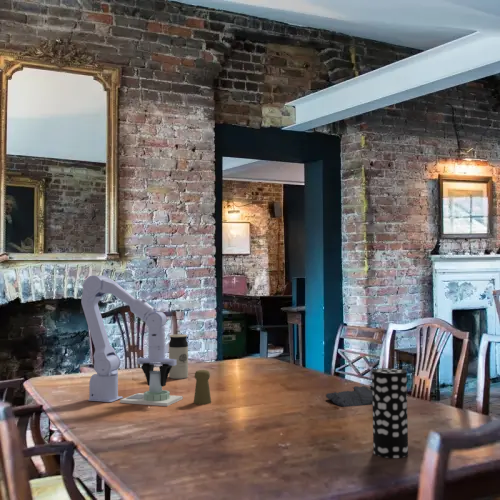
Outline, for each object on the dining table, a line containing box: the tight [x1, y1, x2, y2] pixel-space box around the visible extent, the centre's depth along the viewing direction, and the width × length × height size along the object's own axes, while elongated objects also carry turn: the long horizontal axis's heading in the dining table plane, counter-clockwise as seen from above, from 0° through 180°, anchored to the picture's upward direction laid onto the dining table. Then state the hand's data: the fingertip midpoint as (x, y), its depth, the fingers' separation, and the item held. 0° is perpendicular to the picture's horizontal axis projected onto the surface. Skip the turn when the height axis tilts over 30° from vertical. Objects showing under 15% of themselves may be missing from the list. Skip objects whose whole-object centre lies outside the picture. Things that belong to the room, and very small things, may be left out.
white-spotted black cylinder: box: [371, 367, 409, 459], centre depth 149 cm, size 8×8×20 cm
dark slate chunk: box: [325, 385, 373, 408], centre depth 209 cm, size 15×22×5 cm
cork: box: [193, 369, 212, 405], centre depth 208 cm, size 6×6×11 cm
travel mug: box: [168, 333, 189, 380], centre depth 258 cm, size 8×8×18 cm
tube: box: [148, 370, 163, 393], centre depth 210 cm, size 5×5×7 cm
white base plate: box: [119, 389, 184, 407], centre depth 211 cm, size 18×12×3 cm, turn 70°
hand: (156, 385), depth 211 cm, fingers closed on tube, 5 cm apart
